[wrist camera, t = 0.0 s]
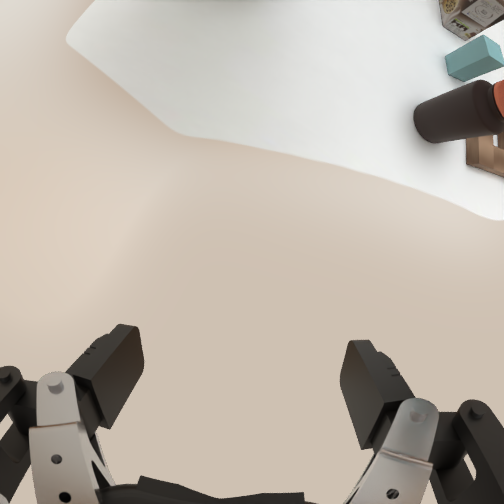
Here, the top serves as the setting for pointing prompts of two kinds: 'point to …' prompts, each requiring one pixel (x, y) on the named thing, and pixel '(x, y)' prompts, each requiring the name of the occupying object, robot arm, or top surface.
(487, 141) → the socket block
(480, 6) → the coffee box
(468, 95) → the bottle
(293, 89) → the top surface
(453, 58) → the peg
